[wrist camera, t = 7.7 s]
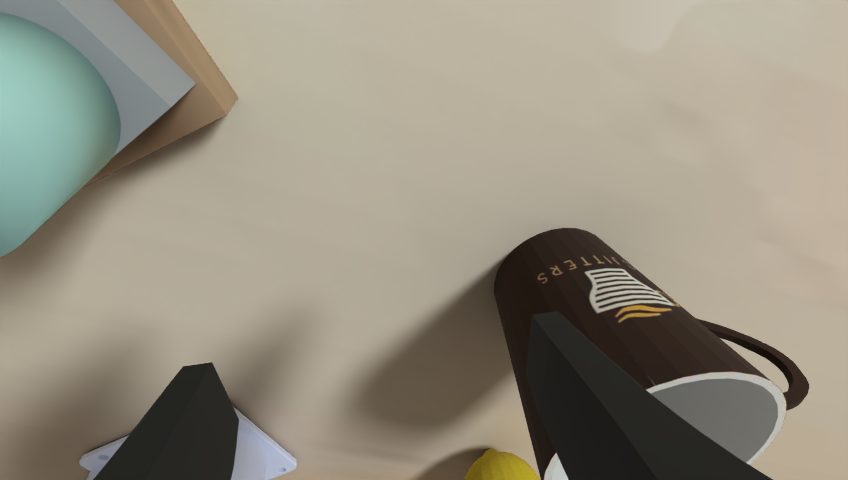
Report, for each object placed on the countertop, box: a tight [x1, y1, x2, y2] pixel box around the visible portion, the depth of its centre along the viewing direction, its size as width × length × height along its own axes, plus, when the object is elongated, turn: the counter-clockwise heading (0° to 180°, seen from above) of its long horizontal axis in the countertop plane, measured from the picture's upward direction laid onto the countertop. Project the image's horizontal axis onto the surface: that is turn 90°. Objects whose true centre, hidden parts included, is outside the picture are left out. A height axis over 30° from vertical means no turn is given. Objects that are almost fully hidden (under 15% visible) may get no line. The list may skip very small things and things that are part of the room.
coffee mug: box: [494, 228, 809, 480], centre depth 20 cm, size 12×9×10 cm
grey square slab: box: [0, 0, 196, 158], centre depth 12 cm, size 5×5×2 cm
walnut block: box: [81, 0, 238, 189], centre depth 14 cm, size 6×6×2 cm
